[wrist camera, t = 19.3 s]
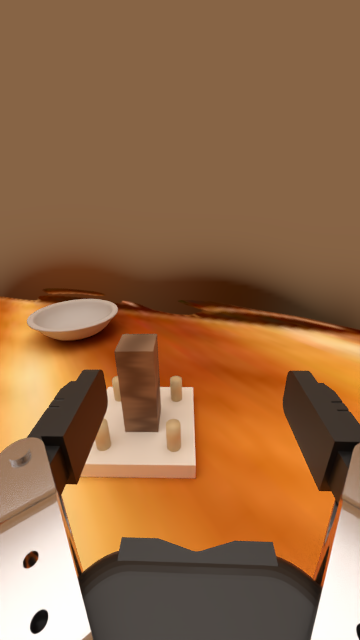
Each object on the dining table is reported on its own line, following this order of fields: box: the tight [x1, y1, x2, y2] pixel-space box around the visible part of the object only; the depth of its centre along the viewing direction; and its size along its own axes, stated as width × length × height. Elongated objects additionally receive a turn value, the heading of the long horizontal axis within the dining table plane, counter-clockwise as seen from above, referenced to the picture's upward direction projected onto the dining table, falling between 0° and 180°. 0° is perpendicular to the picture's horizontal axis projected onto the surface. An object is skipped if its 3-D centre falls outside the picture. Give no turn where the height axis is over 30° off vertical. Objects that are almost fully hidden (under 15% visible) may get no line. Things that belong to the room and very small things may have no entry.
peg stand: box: [80, 376, 196, 478], centre depth 41 cm, size 16×16×6 cm
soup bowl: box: [27, 299, 118, 340], centre depth 75 cm, size 24×24×7 cm
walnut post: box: [115, 334, 161, 432], centre depth 38 cm, size 5×5×14 cm
